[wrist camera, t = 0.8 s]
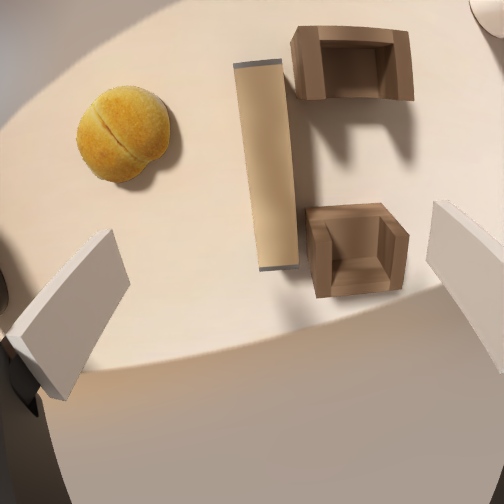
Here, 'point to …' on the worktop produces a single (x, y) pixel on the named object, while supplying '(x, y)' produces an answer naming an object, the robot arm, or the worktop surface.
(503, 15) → the can
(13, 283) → the worktop surface
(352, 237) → the post
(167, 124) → the bread roll
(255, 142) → the rail
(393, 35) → the post
